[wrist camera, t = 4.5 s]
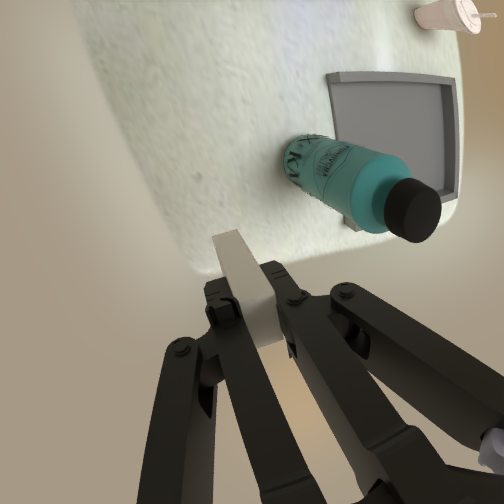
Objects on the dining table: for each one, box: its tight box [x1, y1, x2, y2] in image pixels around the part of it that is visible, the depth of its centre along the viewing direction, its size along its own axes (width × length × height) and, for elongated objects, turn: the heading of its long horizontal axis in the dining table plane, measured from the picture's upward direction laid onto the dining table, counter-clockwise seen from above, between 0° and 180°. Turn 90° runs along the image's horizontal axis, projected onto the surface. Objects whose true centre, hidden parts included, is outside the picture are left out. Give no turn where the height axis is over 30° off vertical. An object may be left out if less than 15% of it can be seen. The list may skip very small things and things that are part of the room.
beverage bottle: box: [284, 134, 442, 243], centre depth 25 cm, size 6×7×20 cm
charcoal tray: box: [326, 72, 459, 232], centre depth 34 cm, size 20×22×3 cm
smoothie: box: [414, 0, 497, 34], centre depth 21 cm, size 6×6×14 cm
